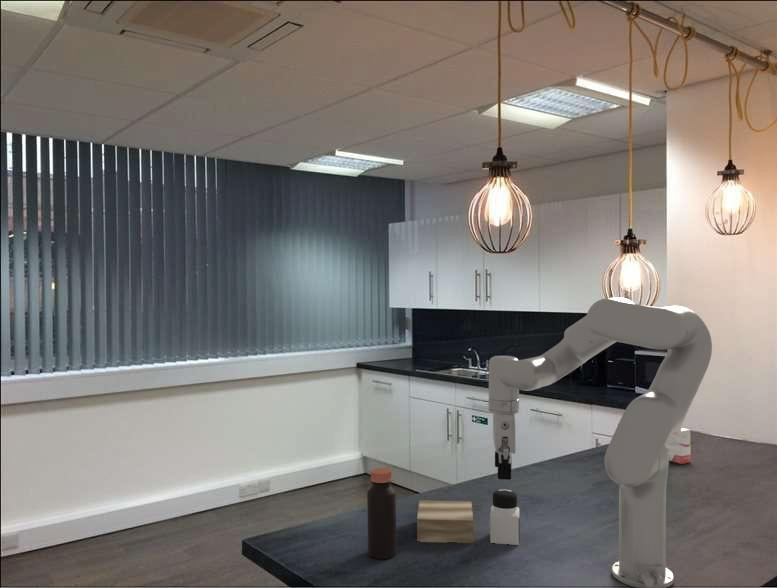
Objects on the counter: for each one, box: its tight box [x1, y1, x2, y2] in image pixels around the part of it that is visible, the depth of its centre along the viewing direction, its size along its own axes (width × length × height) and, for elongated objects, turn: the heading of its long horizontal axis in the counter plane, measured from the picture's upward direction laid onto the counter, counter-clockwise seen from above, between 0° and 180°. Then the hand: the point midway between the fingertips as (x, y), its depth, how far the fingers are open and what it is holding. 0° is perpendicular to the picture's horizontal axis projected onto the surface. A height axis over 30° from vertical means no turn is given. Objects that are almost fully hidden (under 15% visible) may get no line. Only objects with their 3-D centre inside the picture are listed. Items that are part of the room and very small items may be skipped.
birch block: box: [416, 499, 475, 544], centre depth 168 cm, size 14×14×6 cm
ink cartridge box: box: [665, 426, 692, 465], centre depth 231 cm, size 9×5×15 cm, turn 25°
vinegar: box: [366, 467, 397, 560], centre depth 155 cm, size 7×7×20 cm
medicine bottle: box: [489, 489, 521, 546], centre depth 163 cm, size 7×7×12 cm
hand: (502, 472), depth 163 cm, fingers open, 9 cm apart
